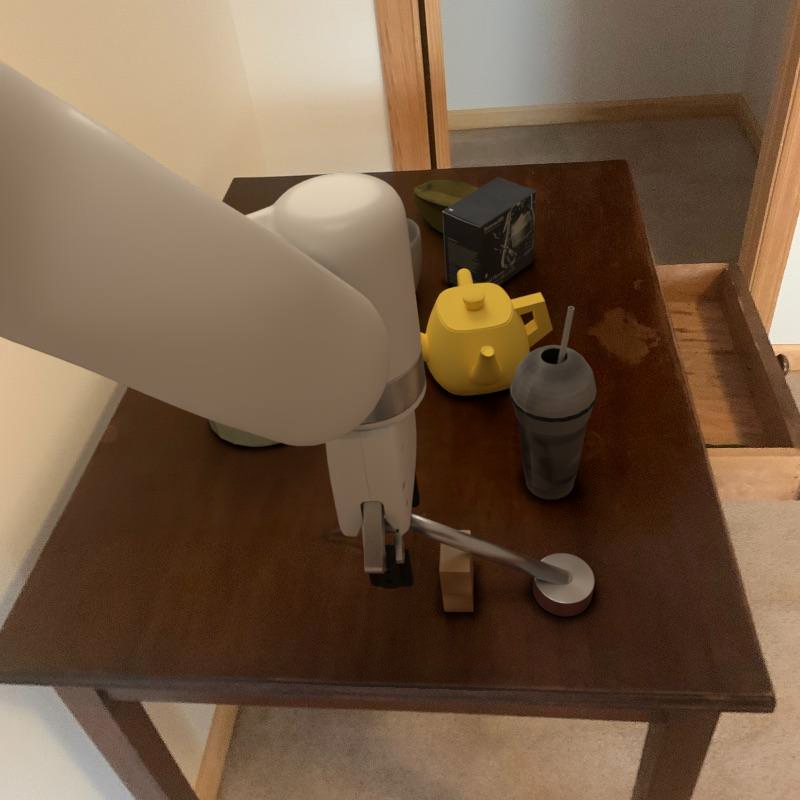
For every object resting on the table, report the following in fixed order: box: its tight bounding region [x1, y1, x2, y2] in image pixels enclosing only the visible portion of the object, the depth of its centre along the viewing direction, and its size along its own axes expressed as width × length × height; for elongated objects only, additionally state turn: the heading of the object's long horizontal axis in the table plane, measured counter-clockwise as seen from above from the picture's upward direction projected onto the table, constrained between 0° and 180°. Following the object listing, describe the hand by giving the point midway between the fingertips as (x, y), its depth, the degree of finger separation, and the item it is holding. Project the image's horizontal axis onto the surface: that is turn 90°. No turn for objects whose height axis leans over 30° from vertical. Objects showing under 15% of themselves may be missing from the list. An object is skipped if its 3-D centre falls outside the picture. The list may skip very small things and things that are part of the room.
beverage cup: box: [509, 305, 598, 501], centre depth 65 cm, size 7×7×20 cm
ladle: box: [384, 512, 596, 617], centre depth 59 cm, size 19×5×12 cm, turn 86°
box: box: [442, 176, 537, 287], centre depth 94 cm, size 11×7×10 cm, turn 135°
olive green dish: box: [413, 179, 480, 234], centre depth 105 cm, size 11×12×7 cm
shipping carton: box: [438, 529, 475, 613], centre depth 62 cm, size 2×4×6 cm, turn 176°
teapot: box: [420, 269, 554, 396], centre depth 81 cm, size 14×13×10 cm
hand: (396, 541), depth 60 cm, fingers open, 6 cm apart
